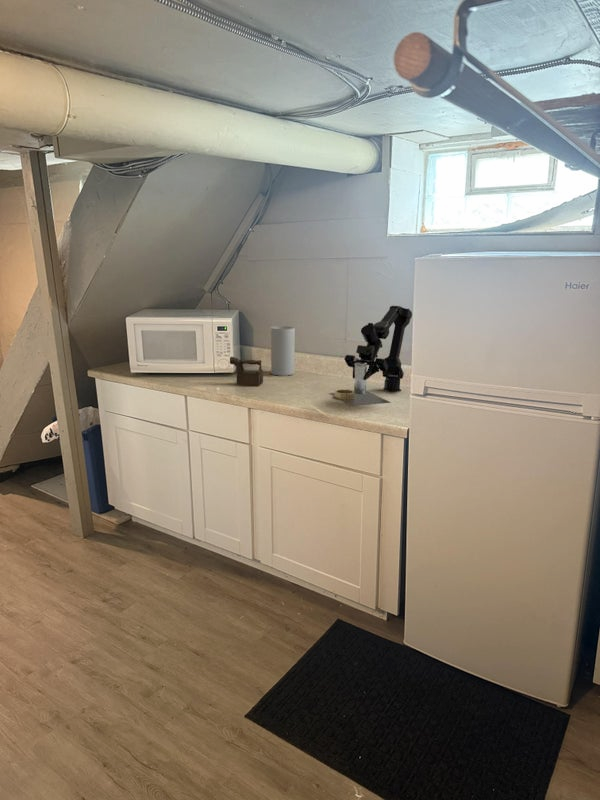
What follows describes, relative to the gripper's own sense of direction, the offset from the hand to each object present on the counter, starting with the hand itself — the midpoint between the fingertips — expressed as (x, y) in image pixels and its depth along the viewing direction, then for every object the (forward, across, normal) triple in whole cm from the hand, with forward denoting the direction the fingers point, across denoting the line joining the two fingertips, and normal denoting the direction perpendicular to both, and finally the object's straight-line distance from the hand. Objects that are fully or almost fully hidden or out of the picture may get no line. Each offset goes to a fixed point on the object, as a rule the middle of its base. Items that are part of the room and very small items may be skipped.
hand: (358, 378), depth 233 cm
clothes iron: (+5, -64, +12) cm, 65 cm away
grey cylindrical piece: (+4, 0, +5) cm, 6 cm away
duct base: (+2, -4, +14) cm, 15 cm away
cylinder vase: (-16, -65, +33) cm, 74 cm away
